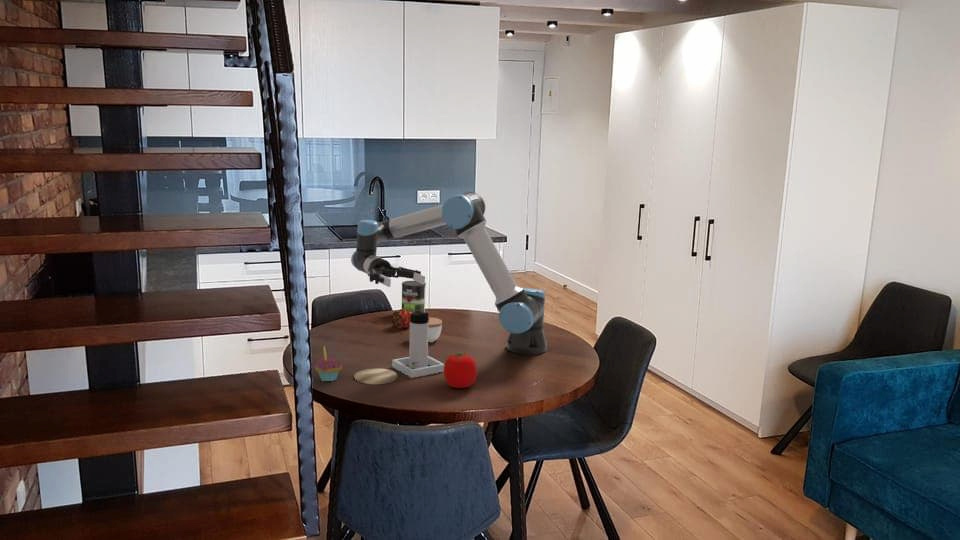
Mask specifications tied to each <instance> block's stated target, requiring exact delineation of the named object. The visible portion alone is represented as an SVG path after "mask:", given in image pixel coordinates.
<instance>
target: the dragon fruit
mask: <svg viewBox="0 0 960 540" xmlns="http://www.w3.org/2000/svg"><path fill="white" fill-rule="evenodd" d="M411 313H412V312H411V311H408V309H404V310H402V308H400V309H399V310H396V311H394V312H392V317H391V320H390V321H391V323H392V326H397V329H400V330H402V329H404V328H406V329H410V314H411Z"/></svg>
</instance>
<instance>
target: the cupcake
mask: <svg viewBox="0 0 960 540" xmlns="http://www.w3.org/2000/svg"><path fill="white" fill-rule="evenodd" d="M326 349H327V348H326V347H325V345H324V344H323V355H324V356H323V357H322V358H321V359H319V360H317V361H316V362H315V364H314V366H315V367H314V371H316V372H318V374H319V377H320V380H321V381H322V382H324V381H332V382H335V381H336V380H337V377H338V374H339V372H340V371H341V370H342V369H343V365H342V362H341V360H339V359H337V358H336V357H333V356H331V357H327V350H326ZM334 380H335V381H334Z"/></svg>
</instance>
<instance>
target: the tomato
mask: <svg viewBox="0 0 960 540" xmlns="http://www.w3.org/2000/svg"><path fill="white" fill-rule="evenodd" d="M443 364H444V372H443V375H444V380H445V381H446V383H447V384H448V385H449V386H450V387H451V388H455V389H464V388H468V387H471V386H472V385H474V382H475V381H476V379H477V374H478V369H477V364H476V361H475V359H474V358H473V357H472V356H471V355H468V354H466V353H458V352H456V354H451V355H449V356H448V357H447V358H446V360H445V362H444V363H443Z"/></svg>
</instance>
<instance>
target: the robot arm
mask: <svg viewBox="0 0 960 540" xmlns="http://www.w3.org/2000/svg"><path fill="white" fill-rule="evenodd" d="M485 212H486V203H485V200H484V198H483V197H482V196H481V195H480V194H479V193H477V192H475V191H474V192H473V191H465V192H461V193H455V194H453V195H452V196H449V197H448V198H447V199H446V200H445V201H444V203H443V204H440V205H436V206H432V207H429V208H425V209H423V210H418V211H415V212H412V213H408V214H405V215H404V214H403V215H401V216H398V217H393V218H391V219H387V220H382V221H380V222H378V221H376V220H373V219H360V220H359V221H358V223H357V229H356V250H355V251H354V252H353V253H352V255H351V258H350V262H351V265H352V266H353V267H354V268H355V269H356V270H358V271H360V272H363V273H365V274H367V276H368V277H369V282H371V283H373V282H374V281H375V282H374V284H375V285H379V283H380V284H381V285H384V286H386V287H389V288H391V284H392V283H391V281H392V278H394V279H395V278H396V279H398V278H406V279H411V280H412V281H417V282H419V283H421V284H425V283H426V276H424V275H422V271H420V270H418V269H416V270H414V269H411V268H407V267H404V266H403V267H402V266H398V267H394V266H392V265H391V263H390V261H388V260H387V259H384V258H382V257H380V256H377V251H378V250H377V248H378V244H379V243H382V242H386V241H390V240H393V239H396V238H397V239H398V238H401V237H404V236H408V235H411V234H415V233H420V232H423V231H427V230H431V229H434V228H438V227H441V226H445V225H446V226H448V227H449V228H451V229H453V231H454V233H455V234H456V236H457V237H458V238H460V239H463V240H464V242H465V244H466V246H467V247H468V249H469V250H470V253H471V255H472V257H473V258H474V260H475V263H476V264H477V265H478V267H479V270H480V271H481V272H482V275H483V277H484V278H485V280H486V282H487V284H488V285H489V287H490V289H491V292H492V293H493V295H494V296H495V301H494V306H495V308H496V309H497V311H498V320H499V323H500V326H501V328H502V329H503V330H505V331H506V332H507V333H509V335H508V337H507V340H506V349H507V350H508V351H509V352H512V353H515V354H521V355H539V354H543V353H546V351H547V349H548V348H547V347H548V343H547V338H546V335H545V331H544V321H545V320H544V319H545V301H546V293H545V291H544V290H542V289H539V288H538V289H537V288H529V287H520V286H518V285H517V283H516V282H515V279H514V278H513V276H512V274H511V272H510V270H509V268H508V267H507V265H506V263H505V261H504V260H503V258H502V256H501V254H500V252H499V251H498V249H497V247H496V244H495V243H494V241H493V240H492V238H491V236H490V234H489V232H488V230H487V229H486V224H487V219H486V218H485V216H484V215H485Z"/></svg>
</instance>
